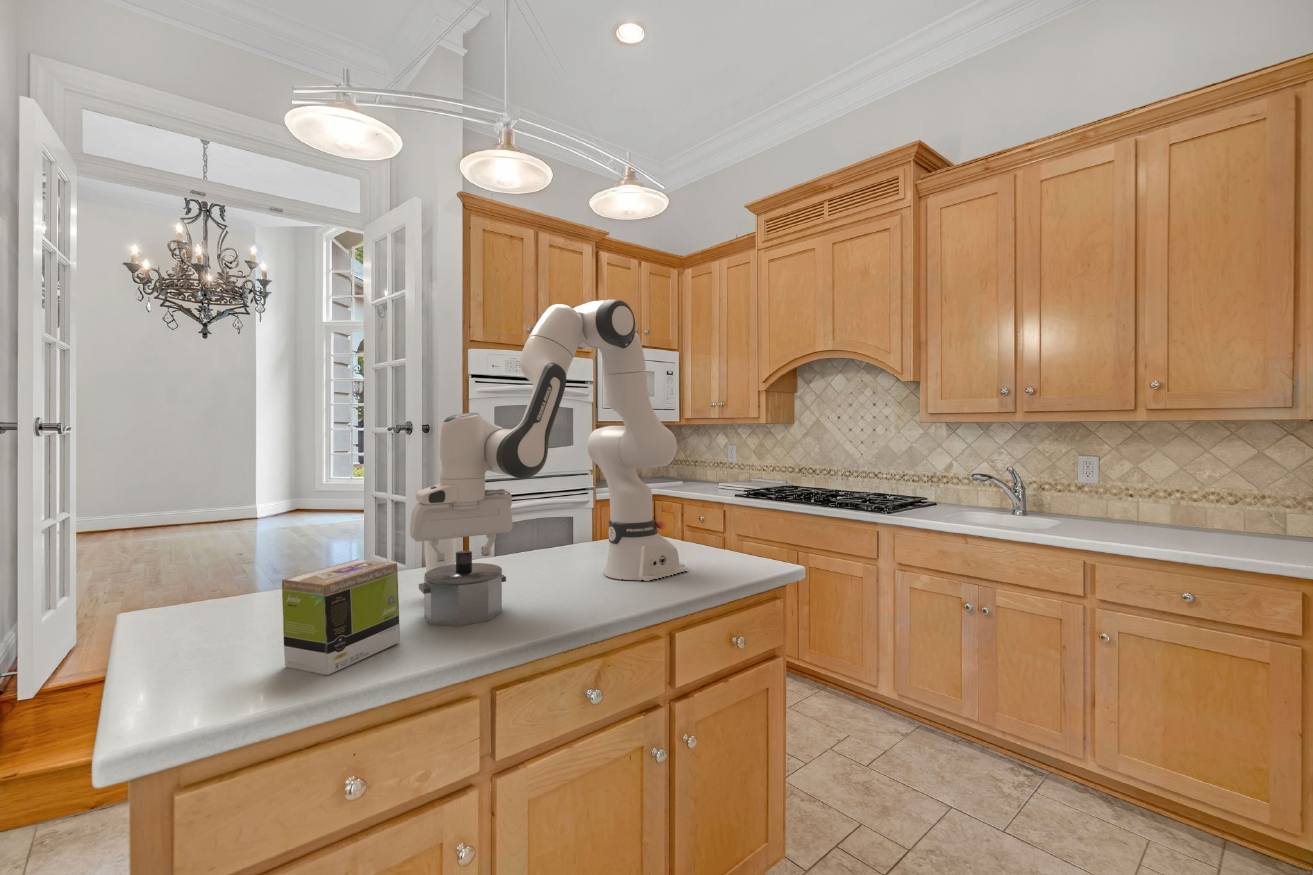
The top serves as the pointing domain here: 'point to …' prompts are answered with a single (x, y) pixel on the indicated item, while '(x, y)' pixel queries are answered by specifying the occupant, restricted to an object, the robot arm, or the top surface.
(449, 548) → the drinking glass
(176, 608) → the top surface
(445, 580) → the lid
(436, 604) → the pot
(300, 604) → the tea box
